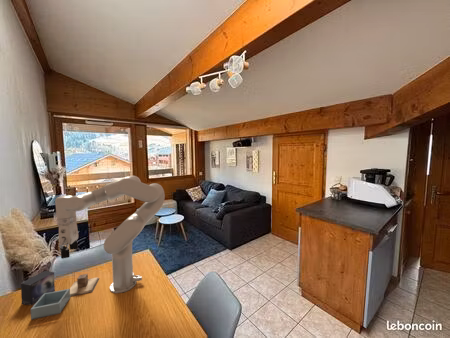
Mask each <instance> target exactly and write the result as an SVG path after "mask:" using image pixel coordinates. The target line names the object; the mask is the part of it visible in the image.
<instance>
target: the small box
mask: <svg viewBox="0 0 450 338" xmlns="http://www.w3.org/2000/svg"><path fill="white" fill-rule="evenodd" d="M55 287H56V285H55V272H53V271H47V270H44V271H41V272H39V273H38V274H36V275H34V276H32V277H30V278H28V279H25V280H23V281H21V283H20V290H21V291H20V292H21V294H20V295H21V297H20V298H21V304H20V305H23V306H24V305H25V306H34V305H35V303H36V302H37V301H38V300H39V299H40V298H41V297H42V295H43V294H44V293H49V292H55V291H56V290H55V289H56V288H55Z"/></svg>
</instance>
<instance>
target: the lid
mask: <svg viewBox="0 0 450 338" xmlns="http://www.w3.org/2000/svg"><path fill="white" fill-rule="evenodd" d="M88 274H89V273H85V274H84V273H83V274H79V275H78V277H77V280H75V281H74V282H73V283H72V285H71V286H70V287H69V289H70V296H71V297H74V296H73V295H76V296H79V295H78V294H81V295H84V294H83V293H86V294H89V293H88V292H91V293H93V292H92V290H93V288H94V286H95V284H96V282H97V281H98V278H99V277H98V276H97V277H93V278H89V277H88V276H89V275H88ZM98 282H99V281H98ZM98 282H97V283H98ZM96 285H97V284H96ZM95 287H96V286H95ZM94 289H95V288H94ZM93 291H94V290H93Z"/></svg>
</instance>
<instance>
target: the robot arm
mask: <svg viewBox="0 0 450 338" xmlns="http://www.w3.org/2000/svg"><path fill="white" fill-rule="evenodd" d="M123 196H127V197H130V198H133V199H135V200H139V201H141V202H144V203H142V205H141V206H140V207H138V209H137V210H136V211H135V212H134V213H132V214H131V215H130V216H128V217H127V218H126V219H125V220H124V221H122V223H120V225H118V226H117V227H116V228H115V229H114V230H113V231H112V232H111V233H110V234H109V235H108V236H107V237H106V238H105V240H104V241H103V249H104V252H105V253H106V254H109V255H111V263H112V264H111V267H112V269H111V270H112V271H111V272H112V283H111V284H110V285H109V291H110V292H111V293H114V294H122V293H126V292H128V291H130V290H131V289H133V288H134V287H136V284H137V281H138V282H139V281H142V280H143V276H142V275H141V274H137V275H135V272H134V269H133V268H134V265H133V263H134V262H133V241H134V239H136V238H137V237H138V235H140V233H141V232H142V230H144V227H145V226H146V225H147V224H148V222H150V221H151V219H153V218H154V217H155V215H156V214H157V213H158V212H160V210H161V208H162V207H163V204H164V202H165V197H166V196H165V189H164V188H163V186H162V185H161V184H159V183H151V184H147V183H144V182H142V181H141V179H140V177H138V176H136V175H129V176H126V177H122V178H121V179H119V180H115V181H112V182H109V183H107V184H105V185H104V186H102V187H100V188H97V189H96V188H95V189H93V190H91V191H88V192H86V193H81V194H78V195H76V196H75V195H69V194H68V195H60V196H58V197H56V198H55V200H54V201H55V203H54V204H55V214H56V225H57V226H58V242H59V243H58V247H59V251H60V257H61V258H60V259H61V260H62V259H68V258H70V257H71V255H70V250H71V251H72V250H76V249H78V239H79V230H78V224H77V222H78V221H77V212H81V211H83V210H86V209H88V208H89V207H92V206H95V205H97V204H99V203H102V202H103V203H104V202H105V201H109V200H110V201H111V200H112V201H113V200H115V199H119V198H121V197H123Z"/></svg>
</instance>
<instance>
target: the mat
mask: <svg viewBox="0 0 450 338" xmlns="http://www.w3.org/2000/svg"><path fill="white" fill-rule="evenodd" d="M99 280H100V278H99V277H98V281H97V282H96V284H95V286H94V288H93V290H92V292H88V293H83V294H78V295H73V296H70V298H71V297H77V296H79V295H80V296H81V295H85V294H89V293H90V294H92V293H93V292H94V290H95V289H96V286H97V284H98V282H99Z"/></svg>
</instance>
